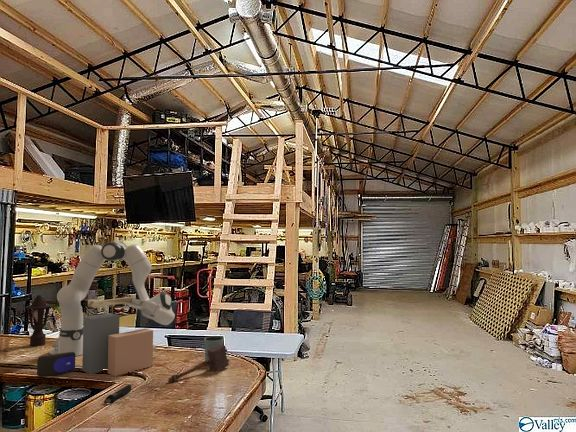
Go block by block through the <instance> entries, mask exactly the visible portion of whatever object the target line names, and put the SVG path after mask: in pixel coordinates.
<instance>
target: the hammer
mask: <svg viewBox="0 0 576 432" xmlns="http://www.w3.org/2000/svg"><path fill="white" fill-rule="evenodd" d="M207 352H208V353H207V356H209V360H208V361H207V362H203V363H202V364H199V365H197V366H194V367H193V368H190V369H188V370H185V371H183V372H181V373H178V374H177V373H176V374H173V375H171V376H170V377H169V378H168V379H167V381H168V383H171V382H173V383H174V382H176V381H177V380H179V379H180V378H183V377H185V376H187V375H190V374H191V373H193V372H196V371H197V370H199V369H202V368H203V367H204V368H205V366H208V367H209V370H213V371H214V372H215V371H216V372H220V371H221V370H222V369H224V368H227V367H228V366H229V365H230V363H229V362H230V359H228V357H227V352H228V348H226V345H224V344H223V345H220V344H219V345H217V346H215V347H213V348H211V349H209V350H207Z"/></svg>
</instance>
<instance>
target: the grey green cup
mask: <svg viewBox="0 0 576 432" xmlns="http://www.w3.org/2000/svg"><path fill="white" fill-rule="evenodd" d="M203 340H204V342H203V343H204V357H205V358H204V361H205V362H207V361H208V360H209V356H207V353H208V352H207V350H209V349H211V348H213V347H215V346H217V345H219V344H220V345H224V337H223V336H220V335H219V336H218V335H212V336H205V337H204V339H203ZM205 362H204V363H205Z"/></svg>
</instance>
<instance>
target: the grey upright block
mask: <svg viewBox="0 0 576 432" xmlns="http://www.w3.org/2000/svg"><path fill="white" fill-rule="evenodd" d="M120 317H121V316H120V315H119V314H117V313H116V314H115V313H111V312H110V313H102V314H96V315H95V314H94V315H90V316H83V354H82V367H81V370H82V372H84V373H87V374H89V375H93V374H98V373H101V372H100V371H101V370H103V369H108V335H113V334H119V333H120Z"/></svg>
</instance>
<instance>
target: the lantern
mask: <svg viewBox="0 0 576 432" xmlns="http://www.w3.org/2000/svg"><path fill="white" fill-rule="evenodd" d="M52 307H53V305H52V304H49V303H48V304H47V302H46V301H45V300H44V297H42V295H41V294H37V295H36V296H35V298H34V300H33V301H32V303H31V304H30V305H26V306H25V309H26V310H27V313H28V321H29V324H30V328H32V330H33V332H32V335H30V337H29V338H30V339H29V347H43V346H45V345H46V336H47V335H46V334H45V333H44V328H45V327H46V326H47V325H46V324H47V322H48V318H49V317H48V316H49V312H50V309H51V308H52ZM32 311H33V314H32Z"/></svg>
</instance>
